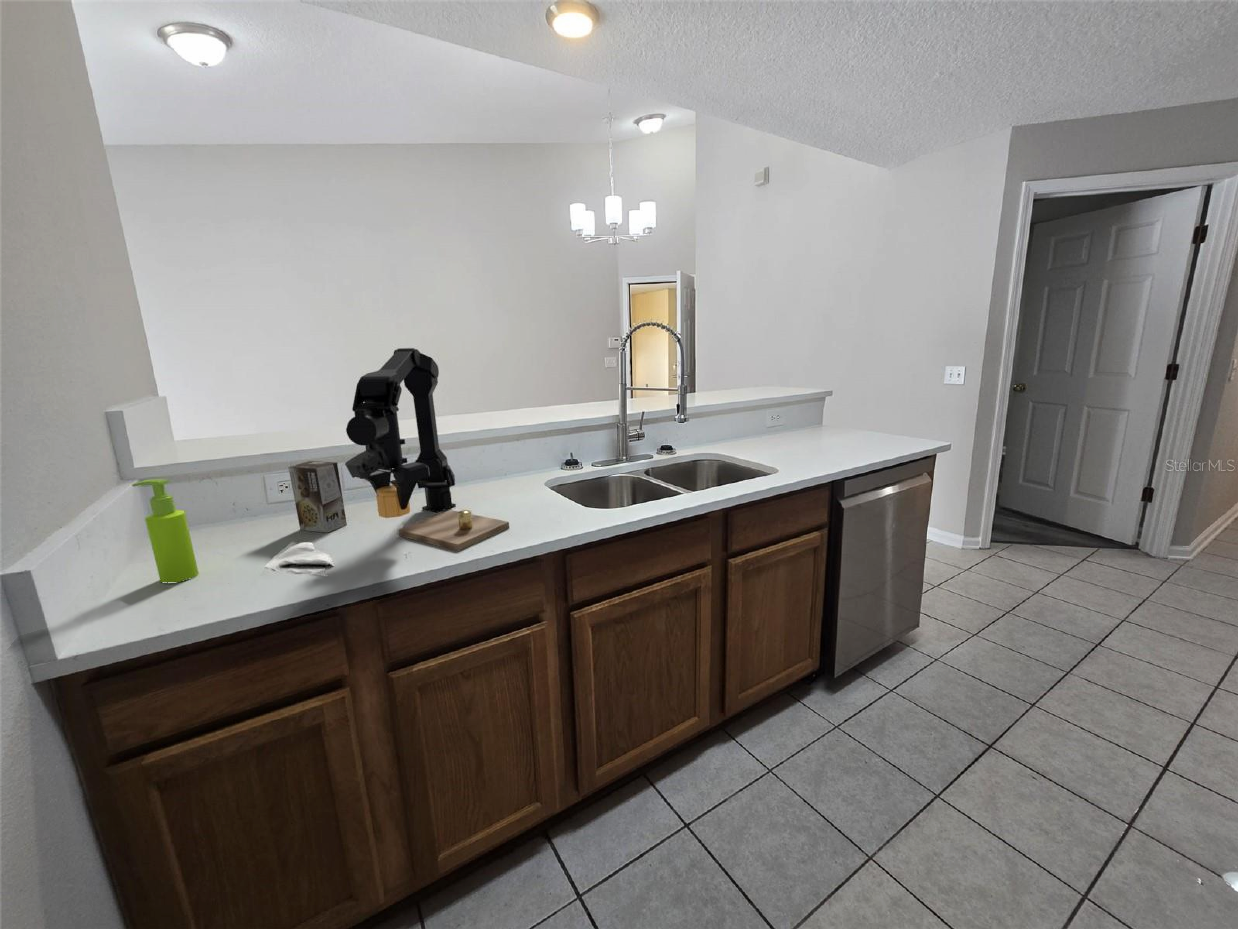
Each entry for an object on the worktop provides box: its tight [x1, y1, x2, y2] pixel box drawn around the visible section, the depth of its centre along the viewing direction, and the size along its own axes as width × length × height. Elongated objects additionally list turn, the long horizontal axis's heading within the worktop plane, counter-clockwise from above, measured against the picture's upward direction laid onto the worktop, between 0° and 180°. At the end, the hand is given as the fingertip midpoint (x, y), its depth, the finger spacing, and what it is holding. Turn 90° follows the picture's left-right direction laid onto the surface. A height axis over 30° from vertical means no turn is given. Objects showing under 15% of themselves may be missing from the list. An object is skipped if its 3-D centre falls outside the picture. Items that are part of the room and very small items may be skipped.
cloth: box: [264, 541, 335, 577], centre depth 113 cm, size 26×14×2 cm, turn 31°
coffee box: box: [288, 460, 348, 533], centre depth 131 cm, size 9×6×16 cm
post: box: [458, 509, 473, 531], centre depth 124 cm, size 3×3×4 cm
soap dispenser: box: [131, 478, 199, 583], centre depth 103 cm, size 6×7×20 cm
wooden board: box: [397, 509, 510, 552], centre depth 127 cm, size 20×16×2 cm
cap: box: [376, 484, 411, 519], centre depth 115 cm, size 6×6×6 cm
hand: (394, 507), depth 116 cm, fingers closed on cap, 6 cm apart
